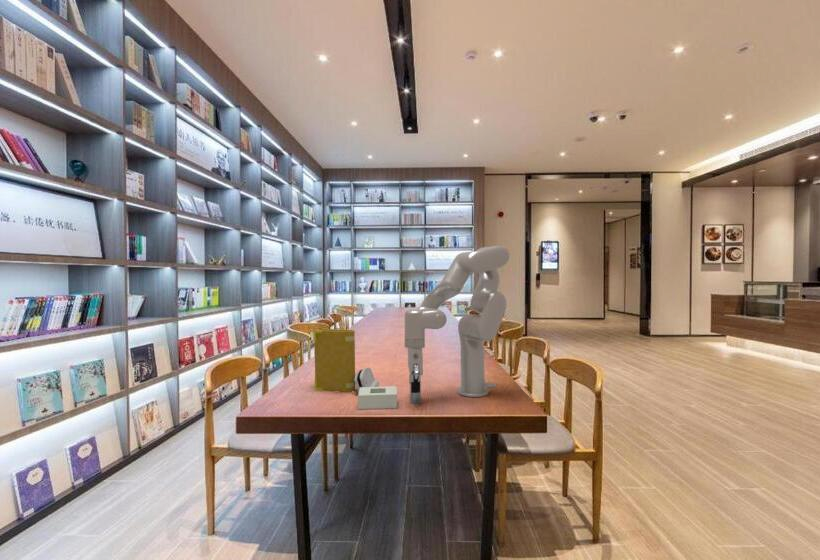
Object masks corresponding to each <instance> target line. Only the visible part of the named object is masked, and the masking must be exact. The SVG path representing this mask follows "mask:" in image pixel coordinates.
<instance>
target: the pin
mask: <svg viewBox="0 0 820 560" xmlns="http://www.w3.org/2000/svg"><path fill="white" fill-rule="evenodd" d="M421 376H422V375H421V374H420V373H419V378H420V393H411V382H412V375H410V373H409V394H410V395H409V401H410V402H409V403H410V405H413V404H418V405H421V404H422V389H421V387H422V383H421V382H422V379H421ZM413 377H414V376H413ZM413 379H414V378H413ZM420 403H421V404H420Z"/></svg>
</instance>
